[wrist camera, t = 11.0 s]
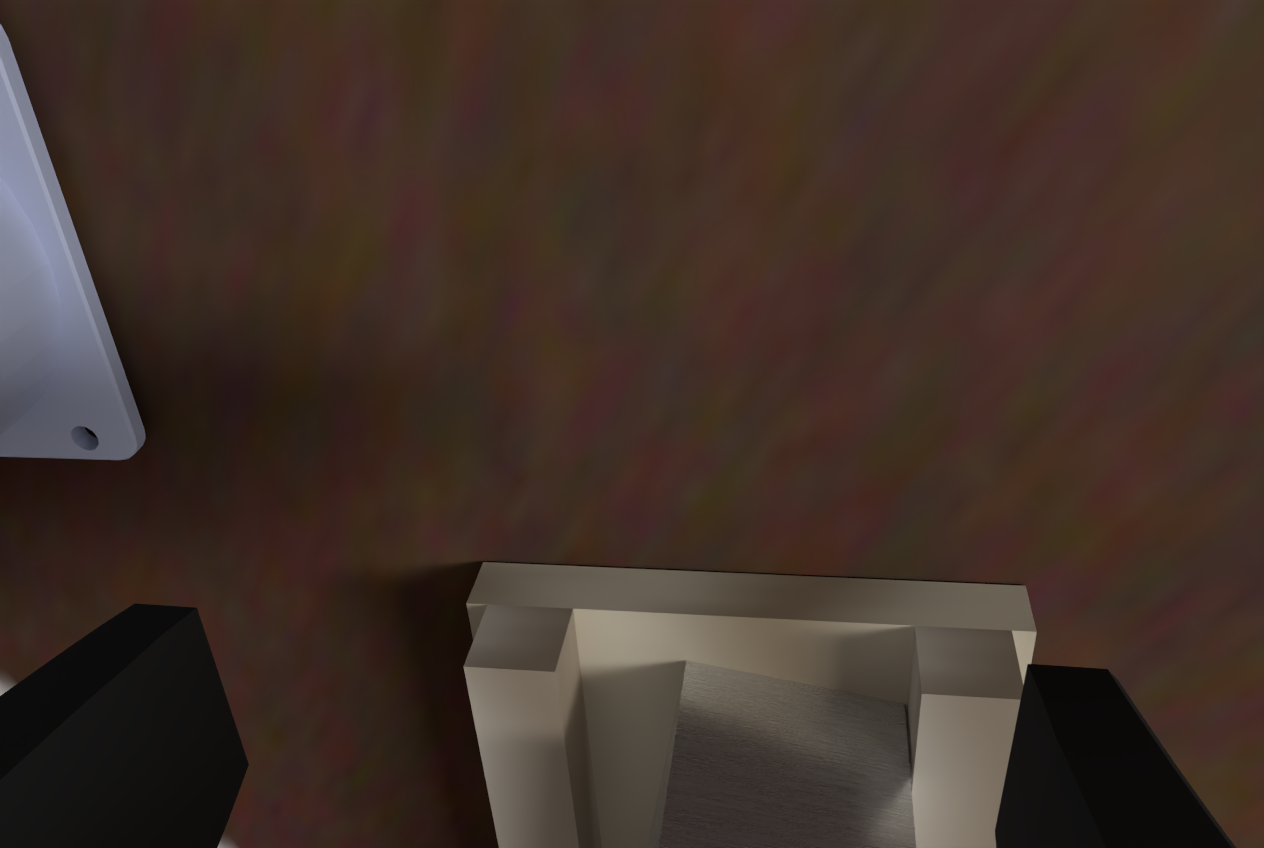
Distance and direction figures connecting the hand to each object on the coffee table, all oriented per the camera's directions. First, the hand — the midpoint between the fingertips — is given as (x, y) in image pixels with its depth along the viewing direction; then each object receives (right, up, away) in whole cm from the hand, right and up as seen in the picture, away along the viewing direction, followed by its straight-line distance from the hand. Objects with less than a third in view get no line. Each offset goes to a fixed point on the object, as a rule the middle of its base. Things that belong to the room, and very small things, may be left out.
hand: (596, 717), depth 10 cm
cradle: (+3, -6, +14) cm, 15 cm away
